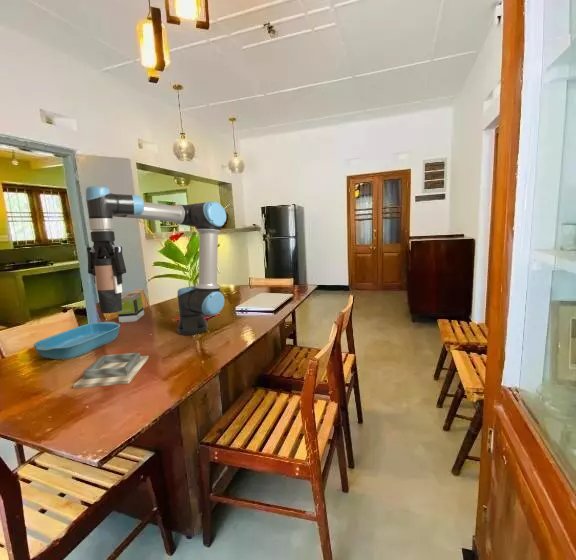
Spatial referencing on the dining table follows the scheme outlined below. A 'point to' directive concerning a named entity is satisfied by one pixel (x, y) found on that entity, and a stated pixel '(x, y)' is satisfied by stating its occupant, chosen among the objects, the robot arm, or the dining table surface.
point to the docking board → (112, 370)
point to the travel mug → (107, 286)
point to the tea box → (131, 307)
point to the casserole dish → (77, 340)
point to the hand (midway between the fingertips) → (109, 292)
